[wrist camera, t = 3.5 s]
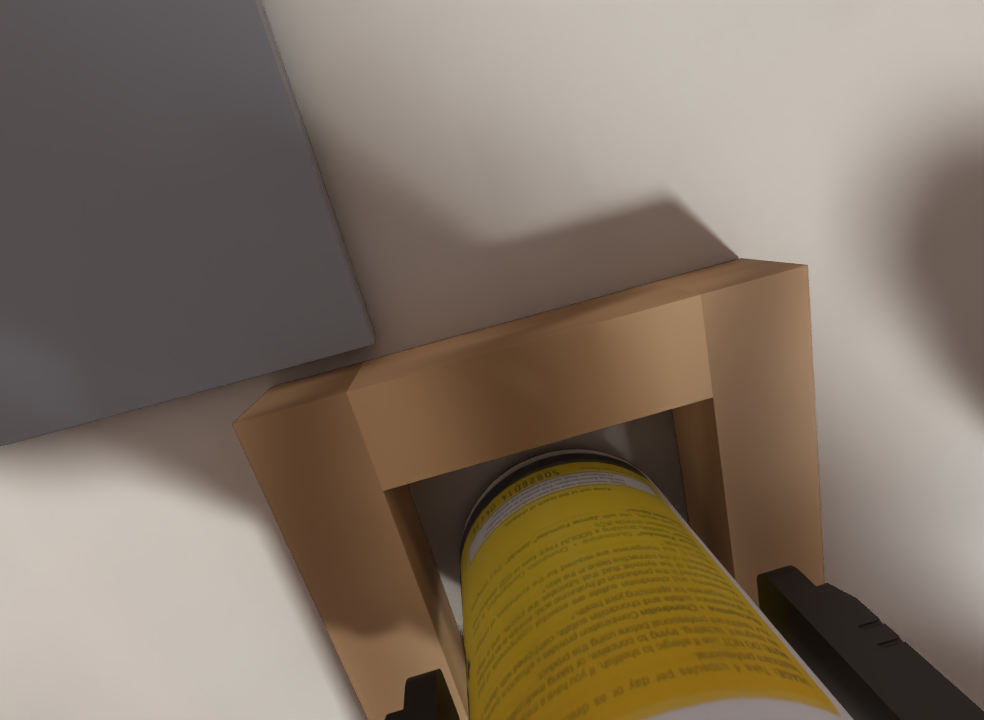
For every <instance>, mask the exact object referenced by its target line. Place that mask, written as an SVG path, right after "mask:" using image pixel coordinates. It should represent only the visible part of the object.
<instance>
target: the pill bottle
mask: <svg viewBox="0 0 984 720" xmlns="http://www.w3.org/2000/svg"><path fill="white" fill-rule="evenodd" d="M460 582H461V595H462V609H463V628H464V645H465V659H466V679H467V697H468V711H469V720H854V719H853V718H852V717H851V716H850V715H849V714H848V712H847V711H846V710H845V709H844V708H843V707H842V705H841V704H840V703H839V702H838V701H837V700H836V698H835V697H834V696H833V695H832V694H831V693H830V691H829V690H828V689H827V688H826V687H825V686H824V684H823V683H822V682H821V681H820V680H819V679H818V677H817V676H816V675H815V674H814V673H813V672H812V670H811V669H810V668H809V667H808V666H807V665H806V663H805V662H804V661H803V660H802V659H801V658H800V656H799V655H798V654H797V653H796V652H795V650H794V649H793V648H792V647H791V646H790V645H789V643H788V642H787V641H786V640H785V639H784V637H783V636H782V635H781V634H780V633H779V631H778V630H777V629H776V628H775V627H774V626H773V624H772V623H771V622H770V621H769V620H768V618H767V617H766V616H765V615H764V614H763V613H762V611H761V610H760V609H759V608H758V607H757V605H756V604H755V603H754V602H753V601H752V600H751V598H750V597H749V596H748V595H747V594H746V592H745V591H744V590H743V589H742V588H741V586H740V585H739V584H738V583H737V582H736V581H735V579H734V578H733V577H732V576H731V575H730V574H729V572H728V571H727V570H726V569H725V568H724V567H723V565H722V564H721V563H720V562H719V561H718V559H717V558H716V557H715V556H714V555H713V554H712V552H711V551H710V550H709V549H708V548H707V547H706V545H705V544H704V543H703V542H702V541H701V539H700V538H699V537H698V536H697V535H696V534H695V532H694V531H693V530H692V529H691V528H690V526H689V525H688V524H687V523H686V521H685V520H684V519H683V518H682V517H681V515H680V514H679V513H678V512H677V510H676V509H675V508H674V507H673V505H672V504H671V503H670V502H669V500H668V499H667V498H666V497H665V495H664V494H663V493H662V492H661V491H660V490H659V488H658V487H657V486H656V485H655V484H654V483H653V482H652V481H651V480H650V478H649V477H648V476H647V475H645V474H644V473H643V472H642V471H641V470H639V469H638V468H636V467H635V466H633V465H632V464H630V463H628V462H626V461H624V460H622V459H620V458H618V457H615V456H613V455H610V454H606V453H602V452H598V451H592V450H583V449H569V450H560V451H554V452H548V453H545V454H542V455H538V456H535V457H533V458H530V459H528V460H526V461H524V462H521V463H519V464H518V465H516V466H514V467H512V468H511V469H510V470H508V471H507V472H505V473H504V474H503V475H501V476H500V477H499V478H497V479H496V480H495V481H494V482H493V483H492V484H491V485H490V486H489V487H488V488H487V489H486V491H485V492H484V493H483V494H482V495H481V497H480V498H479V500H478V501H477V502H476V504H475V506H474V507H473V509H472V511H471V513H470V515H469V517H468V519H467V522H466V524H465V528H464V531H463V535H462V540H461V547H460Z"/></svg>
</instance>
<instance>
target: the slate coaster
mask: <svg viewBox="0 0 984 720" xmlns="http://www.w3.org/2000/svg"><path fill="white" fill-rule="evenodd" d="M375 340H376V337H375V334H374V331H373V328H372V325H371V322H370V319H369V316H368V313H367V310H366V307H365V304H364V301H363V298H362V295H361V292H360V290H359V287H358V284H357V281H356V278H355V275H354V272H353V269H352V266H351V263H350V260H349V257H348V254H347V251H346V248H345V245H344V242H343V239H342V237H341V234H340V231H339V228H338V225H337V222H336V219H335V216H334V213H333V210H332V207H331V204H330V201H329V198H328V195H327V192H326V189H325V186H324V184H323V181H322V178H321V175H320V172H319V169H318V166H317V163H316V160H315V157H314V154H313V151H312V148H311V145H310V142H309V139H308V136H307V133H306V131H305V128H304V125H303V122H302V119H301V116H300V113H299V110H298V107H297V104H296V101H295V98H294V95H293V92H292V89H291V86H290V83H289V80H288V78H287V75H286V72H285V69H284V66H283V63H282V60H281V57H280V54H279V51H278V48H277V45H276V42H275V39H274V36H273V33H272V30H271V27H270V25H269V22H268V19H267V16H266V13H265V10H264V7H263V4H262V1H261V0H0V446H4V445H8V444H11V443H15V442H19V441H22V440H26V439H29V438H33V437H37V436H40V435H44V434H48V433H51V432H55V431H59V430H62V429H66V428H70V427H73V426H77V425H81V424H84V423H88V422H92V421H95V420H99V419H103V418H106V417H110V416H114V415H117V414H121V413H125V412H128V411H132V410H136V409H139V408H143V407H146V406H150V405H154V404H157V403H161V402H165V401H168V400H172V399H176V398H179V397H183V396H187V395H190V394H194V393H198V392H201V391H205V390H209V389H212V388H216V387H220V386H223V385H227V384H231V383H234V382H238V381H242V380H245V379H249V378H252V377H256V376H260V375H263V374H267V373H271V372H274V371H278V370H282V369H285V368H289V367H293V366H296V365H300V364H304V363H307V362H311V361H315V360H318V359H322V358H326V357H329V356H333V355H337V354H340V353H344V352H348V351H351V350H355V349H359V348H362V347H366V346H369V345H373V344H374V342H375Z"/></svg>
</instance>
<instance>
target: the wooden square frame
mask: <svg viewBox="0 0 984 720" xmlns="http://www.w3.org/2000/svg"><path fill="white" fill-rule="evenodd" d="M670 409H672V412H673V419H674V425H675V432H676V438H677V445H678V452H679V458H680V465H681V472H682V478H683V485H684V491H685V498H686V505H687V511H688V518H689V525H690V528H691V529H692V530H693V531H694V532H695V534H696V535H697V536H698V537H699V538H700V539H701V541H702V542H703V543H704V544H705V545H706V547H707V548H708V549H709V550H710V551H711V552H712V554H713V555H714V556H715V557H716V558H717V559H718V561H719V562H720V563H721V564H722V565H723V567H724V568H725V569H726V570H727V571H728V572H729V574H730V575H731V576H732V577H733V578H734V579H735V581H736V582H737V583H738V584H739V585H740V586H741V588H742V589H743V590H744V591H745V592H746V594H747V595H748V596H749V597H750V598H751V600H752V601H753V602H754V603H755V604H756V605H757V607H758V608H759V599H758V589H757V576H758V575H759V574H761V573H765V572H768V571H772V570H775V569H778V568H782V567H785V566H788V565H791V566H794V567H796V568H797V569H798V570H800V571H801V572H802V573H803V574H804V575H805V576H806V577H807V578H808V579H809V580H810V581H811V582H812V583H813V584H814V585H815V586H819V585H822V584H824V567H823V548H822V529H821V509H820V490H819V471H818V451H817V432H816V413H815V393H814V374H813V355H812V335H811V316H810V297H809V277H808V265H803V264H793V263H783V262H773V261H763V260H753V259H743V258H740V259H737V260H733V261H729V262H726V263H722V264H718V265H715V266H711V267H708V268H704V269H700V270H697V271H693V272H689V273H686V274H682V275H678V276H675V277H671V278H667V279H664V280H660V281H657V282H653V283H649V284H646V285H642V286H638V287H635V288H631V289H627V290H624V291H620V292H616V293H613V294H609V295H606V296H602V297H598V298H595V299H591V300H587V301H584V302H580V303H576V304H573V305H569V306H565V307H562V308H558V309H555V310H551V311H547V312H544V313H540V314H536V315H533V316H529V317H525V318H522V319H518V320H514V321H511V322H507V323H504V324H500V325H496V326H493V327H489V328H485V329H482V330H478V331H474V332H471V333H467V334H463V335H460V336H456V337H453V338H449V339H445V340H442V341H438V342H434V343H431V344H427V345H423V346H420V347H416V348H413V349H409V350H405V351H402V352H398V353H394V354H391V355H387V356H383V357H380V358H376V359H372V360H369V361H365V362H362V363H358V364H354V365H351V366H347V367H343V368H340V369H336V370H332V371H329V372H325V373H321V374H318V375H314V376H311V377H307V378H303V379H300V380H296V381H292V382H289V383H285V384H281V385H278V386H274V387H271V388H270V389H269V390H268V391H267V392H266V393H265V394H264V395H262V396H261V397H260V398H259V399H258V400H257V401H256V402H255V403H254V404H253V405H252V406H251V407H250V408H249V409H248V410H246V411H245V412H244V413H243V414H242V415H241V416H240V417H239V418H238V419H237V420H236V421H235V422H234V423H233V424H232V425H233V428H234V430H235V432H236V434H237V436H238V438H239V441H240V443H241V445H242V447H243V449H244V451H245V454H246V456H247V458H248V460H249V462H250V464H251V467H252V469H253V471H254V473H255V475H256V477H257V480H258V482H259V484H260V486H261V488H262V490H263V493H264V495H265V497H266V499H267V501H268V503H269V506H270V508H271V510H272V512H273V514H274V516H275V519H276V521H277V523H278V525H279V527H280V530H281V532H282V534H283V536H284V538H285V540H286V543H287V545H288V547H289V549H290V551H291V553H292V556H293V558H294V560H295V562H296V564H297V566H298V569H299V571H300V573H301V575H302V577H303V579H304V582H305V584H306V586H307V588H308V590H309V592H310V595H311V597H312V599H313V601H314V603H315V605H316V608H317V610H318V612H319V614H320V616H321V618H322V621H323V623H324V625H325V627H326V629H327V631H328V634H329V636H330V638H331V640H332V642H333V644H334V647H335V649H336V651H337V653H338V655H339V657H340V660H341V662H342V664H343V666H344V668H345V670H346V673H347V675H348V677H349V679H350V681H351V684H352V686H353V688H354V690H355V692H356V694H357V697H358V699H359V701H360V703H361V705H362V707H363V710H364V712H365V714H366V716H367V718H368V720H384V719H385V717H386V715H387V714H389V713H393V712H396V711H399V710H402V709H403V706H404V693H405V684H406V680H407V678H409V677H413V676H416V675H419V674H423V673H426V672H430V671H433V670H436V669H441V671H442V673H443V675H444V678H445V681H446V683H447V686H448V688H449V691H450V694H451V696H452V699H453V702H454V704H455V707H456V709H457V712H458V715H459V718H460V720H469V711H468V697H467V679H466V659H465V647H464V644H463V641H462V638H461V635H460V632H459V630H458V627H457V624H456V621H455V618H454V615H453V613H452V610H451V607H450V604H449V601H448V598H447V596H446V593H445V590H444V587H443V584H442V581H441V579H440V576H439V573H438V570H437V567H436V564H435V562H434V559H433V556H432V553H431V550H430V547H429V545H428V542H427V539H426V536H425V533H424V530H423V528H422V525H421V522H420V519H419V516H418V514H417V511H416V508H415V505H414V502H413V499H412V497H411V494H410V491H409V488H408V485H407V484H409V483H413V482H416V481H420V480H423V479H427V478H430V477H434V476H437V475H441V474H444V473H448V472H452V471H455V470H459V469H462V468H466V467H469V466H473V465H476V464H480V463H483V462H487V461H490V460H494V459H497V458H501V457H504V456H508V455H511V454H515V453H518V452H522V451H526V450H529V449H533V448H536V447H540V446H543V445H547V444H550V443H554V442H557V441H561V440H564V439H568V438H571V437H575V436H578V435H582V434H585V433H589V432H592V431H596V430H600V429H603V428H607V427H610V426H614V425H617V424H621V423H624V422H628V421H631V420H635V419H638V418H642V417H645V416H649V415H652V414H656V413H659V412H663V411H666V410H670ZM759 609H760V608H759Z"/></svg>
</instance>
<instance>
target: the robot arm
mask: <svg viewBox="0 0 984 720" xmlns="http://www.w3.org/2000/svg"><path fill="white" fill-rule="evenodd" d="M757 589H758V599H759V608H760V610H761V611H762V613H763V614H764V615H765V616H766V617H767V618H768V620H769V621H770V622H771V623H772V624H773V626H774V627H775V628H776V629H777V630H778V631H779V633H780V634H781V635H782V636H783V637H784V639H785V640H786V641H787V642H788V643H789V645H790V646H791V647H792V648H793V649H794V650H795V652H796V653H797V654H798V655H799V656H800V658H801V659H802V660H803V661H804V662H805V663H806V665H807V666H808V667H809V668H810V669H811V670H812V672H813V673H814V674H815V675H816V676H817V677H818V679H819V680H820V681H821V682H822V683H823V684H824V686H825V687H826V688H827V689H828V690H829V691H830V693H831V694H832V695H833V696H834V697H835V698H836V700H837V701H838V702H839V703H840V704H841V705H842V707H843V708H844V709H845V710H846V711H847V712H848V714H849V715H850V716H851V717H852V718H853V719H854V720H984V711H982V710H981V709H980V708H979V707H978V706H977V705H976V704H975V703H973V702H972V701H971V700H970V699H969V698H968V697H967V696H966V695H964V694H963V693H962V692H961V691H960V690H959V689H958V688H957V687H955V686H954V685H953V684H952V683H951V682H950V681H949V680H948V679H946V678H945V677H944V676H943V675H942V674H941V673H940V672H939V671H937V670H936V669H935V668H934V667H933V666H932V665H931V664H930V663H928V662H927V661H926V660H925V659H924V658H923V657H922V656H921V655H919V654H918V653H917V652H916V651H915V650H914V649H913V648H912V647H910V646H909V645H908V644H907V643H906V642H903V641H902V640H901V639H900V637H899V636H898V635H897V634H896V633H895V632H894V631H893V630H891V629H890V628H889V627H888V626H887V625H886V624H882V623H881V621H880V619H879V618H878V617H877V616H876V615H875V614H873V613H872V612H871V611H870V610H869V609H868V608H867V607H866V606H864V605H863V604H862V603H861V602H860V601H859V600H858V599H857V598H855V597H853V596H851V595H849V594H847V593H845V592H843V591H842V590H840V589H838V588H836V587H834V586H832V585H830V584H828V583H825V584H822V585H819V586H815V585H814V584H813V583H812V582H811V581H810V580H809V579H808V578H807V577H806V576H805V575H804V574H803V573H802V572H801V571H800V570H798V569H797V568H796V567H794V566H791V565H788V566H785V567H782V568H778V569H775V570H772V571H768V572H765V573H761V574H759V575H758V576H757ZM384 720H460V718H459V715H458V712H457V709H456V707H455V704H454V702H453V699H452V696H451V694H450V691H449V688H448V686H447V683H446V681H445V678H444V675H443V673H442V671H441V669H436V670H433V671H430V672H426V673H423V674H419V675H416V676H413V677H409V678H407V680H406V684H405V693H404V706H403V709H402V710H399V711H396V712H393V713H389V714H387V715H386V717H385V719H384Z"/></svg>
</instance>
